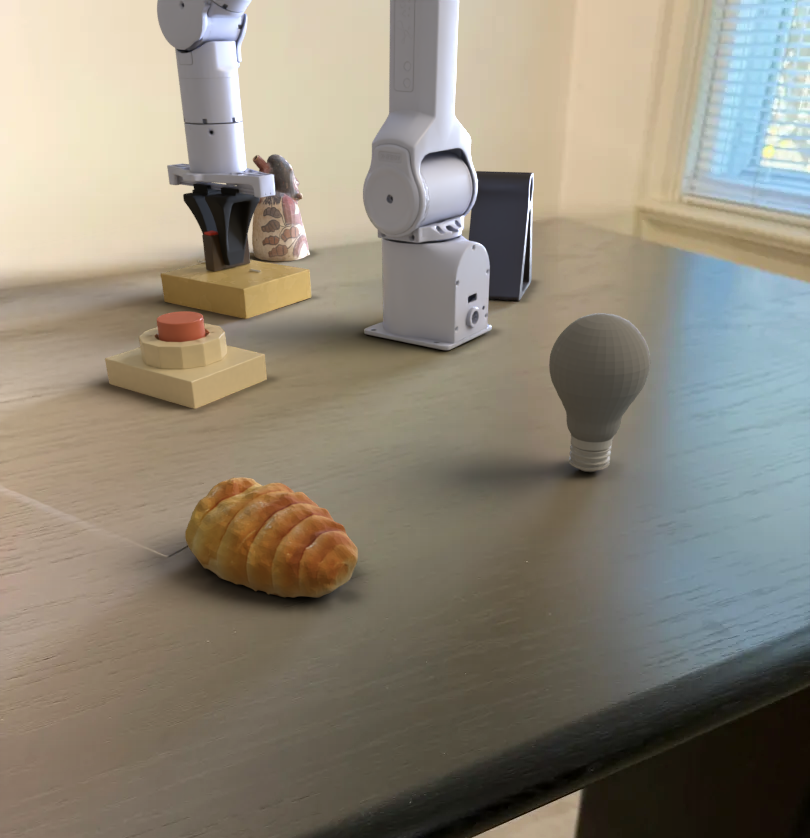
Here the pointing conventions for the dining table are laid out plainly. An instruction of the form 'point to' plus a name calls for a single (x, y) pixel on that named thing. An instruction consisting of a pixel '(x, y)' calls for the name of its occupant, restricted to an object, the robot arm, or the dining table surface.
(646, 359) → the light bulb
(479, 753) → the dining table surface
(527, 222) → the phone stand
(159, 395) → the block
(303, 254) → the figurine
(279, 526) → the pastry
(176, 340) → the bell button
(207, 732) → the dining table surface
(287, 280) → the plate
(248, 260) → the thumb turn
